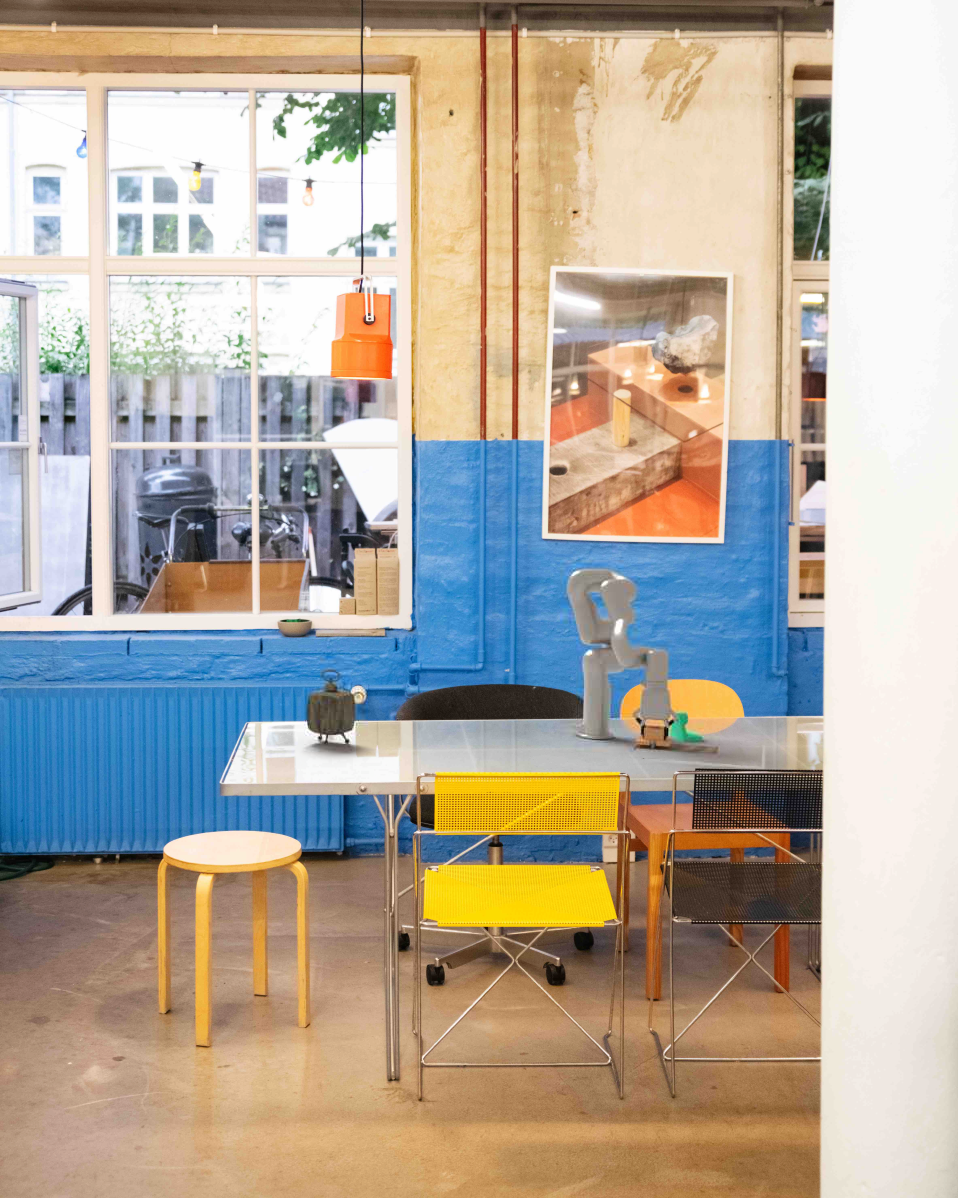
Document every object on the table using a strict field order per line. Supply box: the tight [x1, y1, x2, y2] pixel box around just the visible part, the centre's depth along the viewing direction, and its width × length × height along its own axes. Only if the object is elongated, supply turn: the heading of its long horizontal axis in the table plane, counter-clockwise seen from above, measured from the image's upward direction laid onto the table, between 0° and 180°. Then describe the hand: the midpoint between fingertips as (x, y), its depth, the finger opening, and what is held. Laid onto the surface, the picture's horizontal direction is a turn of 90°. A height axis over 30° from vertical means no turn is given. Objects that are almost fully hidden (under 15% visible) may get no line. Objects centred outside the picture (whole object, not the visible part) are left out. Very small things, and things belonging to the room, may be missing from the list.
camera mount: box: [669, 711, 703, 742], centre depth 405 cm, size 12×8×10 cm, turn 13°
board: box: [633, 741, 719, 755], centre depth 387 cm, size 27×12×4 cm, turn 76°
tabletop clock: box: [306, 668, 356, 745], centre depth 383 cm, size 14×9×25 cm, turn 65°
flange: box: [635, 724, 673, 747], centre depth 389 cm, size 11×11×5 cm
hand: (654, 737), depth 389 cm, fingers closed on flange, 6 cm apart
